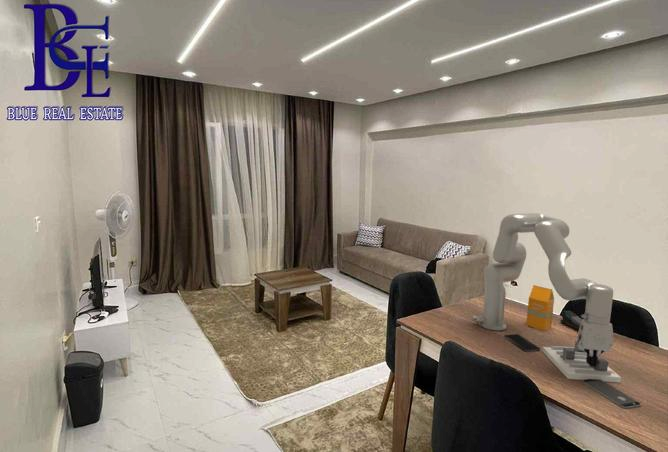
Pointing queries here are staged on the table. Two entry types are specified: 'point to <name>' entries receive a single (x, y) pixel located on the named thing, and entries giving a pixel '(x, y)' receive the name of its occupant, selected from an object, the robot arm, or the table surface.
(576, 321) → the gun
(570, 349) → the middle tab
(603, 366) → the near tab
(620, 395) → the phone
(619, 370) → the table surface
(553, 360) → the switch board
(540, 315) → the orange juice
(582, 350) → the far tab
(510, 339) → the phone
